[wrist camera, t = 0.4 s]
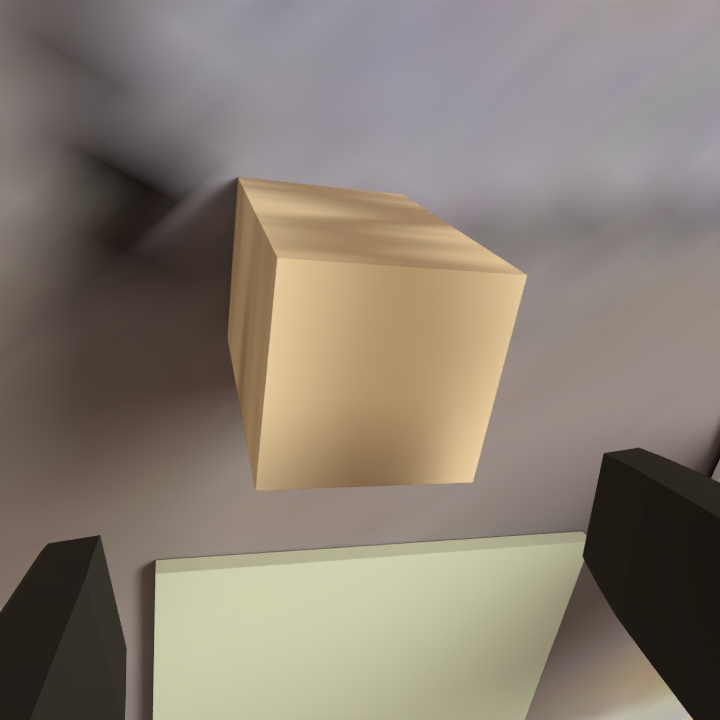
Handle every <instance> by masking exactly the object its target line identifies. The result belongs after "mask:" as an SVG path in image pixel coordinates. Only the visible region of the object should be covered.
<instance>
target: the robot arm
mask: <svg viewBox="0 0 720 720" xmlns="http://www.w3.org/2000/svg"><path fill="white" fill-rule="evenodd" d="M582 557H583V558H584V560H585V562H586V564H587V566H588V568H589V569H590V571H591V573H592V575H593V577H594V579H595V580H596V582H597V584H598V586H599V588H600V590H601V591H602V593H603V595H604V596H605V598H606V600H607V601H608V603H609V605H610V606H611V608H612V610H613V611H614V613H615V615H616V616H617V618H618V619H619V621H620V622H621V624H622V625H623V626H624V628H625V629H626V630H627V632H628V633H629V635H630V636H631V637H632V639H633V640H634V641H635V643H636V644H637V645H638V647H639V648H640V649H641V651H642V652H643V653H644V655H645V656H646V658H647V659H648V660H649V662H650V663H651V664H652V666H653V667H654V668H655V670H656V671H657V672H658V674H659V675H660V676H661V678H662V679H663V680H664V681H665V683H666V684H667V685H668V687H669V688H670V689H671V691H672V692H673V693H674V695H675V696H676V697H677V699H678V700H679V701H680V703H681V704H682V705H683V707H684V708H685V709H686V711H687V712H688V713H689V715H690V716H691V717H692V719H693V720H720V459H719V462H718V464H717V466H716V468H715V471H714V473H713V475H712V477H711V478H709V477H707V476H705V475H702V474H700V473H698V472H696V471H694V470H691V469H689V468H687V467H685V466H683V465H680V464H678V463H676V462H673V461H671V460H669V459H666V458H664V457H662V456H659V455H657V454H654V453H652V452H649V451H646V450H644V449H641V448H634V449H628V450H622V451H615V452H609V453H604V455H603V459H602V464H601V469H600V474H599V479H598V483H597V488H596V493H595V498H594V503H593V507H592V512H591V517H590V522H589V527H588V531H587V536H586V541H585V546H584V551H583V555H582ZM126 650H127V649H126V644H125V640H124V636H123V631H122V627H121V623H120V618H119V614H118V610H117V606H116V601H115V597H114V593H113V588H112V584H111V580H110V575H109V571H108V567H107V563H106V558H105V554H104V550H103V545H102V541H101V537H100V535H98V536H92V537H86V538H80V539H74V540H67V541H61V542H55V543H49V544H47V546H46V547H45V548H44V549H43V550H42V551H41V552H40V554H39V555H38V557H37V558H36V560H35V561H34V563H33V564H32V566H31V567H30V569H29V570H28V572H27V573H26V575H25V576H24V578H23V579H22V581H21V582H20V584H19V585H18V587H17V588H16V590H15V591H14V593H13V594H12V596H11V597H10V599H9V600H8V602H7V603H6V605H5V606H4V608H3V609H2V611H1V612H0V720H125V699H126Z"/></svg>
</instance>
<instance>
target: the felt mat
mask: <svg viewBox="0 0 720 720" xmlns="http://www.w3.org/2000/svg"><path fill="white" fill-rule="evenodd" d="M585 541H586V535H585V534H584V533H583V531H580V532H565V533H551V534H536V535H521V536H506V537H492V538H477V539H462V540H447V541H433V542H418V543H403V544H388V545H374V546H359V547H344V548H329V549H315V550H300V551H285V552H270V553H256V554H241V555H226V556H212V557H197V558H182V559H167V560H156V573H155V631H154V688H153V720H525V718H526V715H527V712H528V709H529V707H530V704H531V701H532V699H533V696H534V693H535V691H536V688H537V685H538V683H539V680H540V677H541V675H542V672H543V669H544V667H545V664H546V661H547V659H548V656H549V653H550V651H551V648H552V645H553V642H554V640H555V637H556V634H557V632H558V629H559V626H560V624H561V621H562V618H563V616H564V613H565V610H566V608H567V605H568V602H569V600H570V597H571V594H572V592H573V589H574V586H575V584H576V581H577V578H578V575H579V573H580V570H581V567H582V565H583V562H584V558H583V557H582V555H583V551H584V546H585Z"/></svg>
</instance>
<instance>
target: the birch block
mask: <svg viewBox="0 0 720 720" xmlns="http://www.w3.org/2000/svg"><path fill="white" fill-rule="evenodd" d="M526 278H527V275H526V274H524V273H523V272H521V271H520V270H518V269H517V268H515V267H514V266H512V265H510V264H509V263H507V262H506V261H504V260H503V259H501V258H500V257H498V256H497V255H495V254H494V253H492V252H490V251H489V250H487V249H486V248H484V247H483V246H481V245H480V244H478V243H477V242H475V241H473V240H472V239H470V238H469V237H467V236H466V235H464V234H463V233H461V232H460V231H458V230H456V229H455V228H453V227H452V226H450V225H449V224H447V223H446V222H444V221H443V220H441V219H439V218H438V217H436V216H435V215H433V214H432V213H430V212H429V211H427V210H426V209H424V208H422V207H421V206H419V205H418V204H416V203H415V202H413V201H412V200H410V199H409V198H407V197H406V196H404V195H402V194H393V193H384V192H374V191H364V190H355V189H345V188H336V187H326V186H317V185H307V184H298V183H288V182H279V181H269V180H260V179H250V178H240V177H238V185H237V201H236V216H235V231H234V247H233V262H232V277H231V293H230V308H229V324H228V343H229V349H230V354H231V360H232V365H233V371H234V376H235V381H236V387H237V392H238V398H239V403H240V409H241V414H242V420H243V425H244V431H245V436H246V442H247V447H248V453H249V458H250V463H251V469H252V474H253V480H254V485H255V491H258V490H284V489H310V488H336V487H362V486H389V485H415V484H441V483H467V482H473V479H474V476H475V472H476V468H477V464H478V460H479V457H480V453H481V449H482V445H483V441H484V437H485V434H486V430H487V426H488V422H489V418H490V415H491V411H492V407H493V403H494V399H495V396H496V392H497V388H498V384H499V380H500V377H501V373H502V369H503V365H504V361H505V358H506V354H507V350H508V346H509V342H510V338H511V335H512V331H513V327H514V323H515V319H516V316H517V312H518V308H519V304H520V300H521V297H522V293H523V289H524V285H525V281H526Z"/></svg>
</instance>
